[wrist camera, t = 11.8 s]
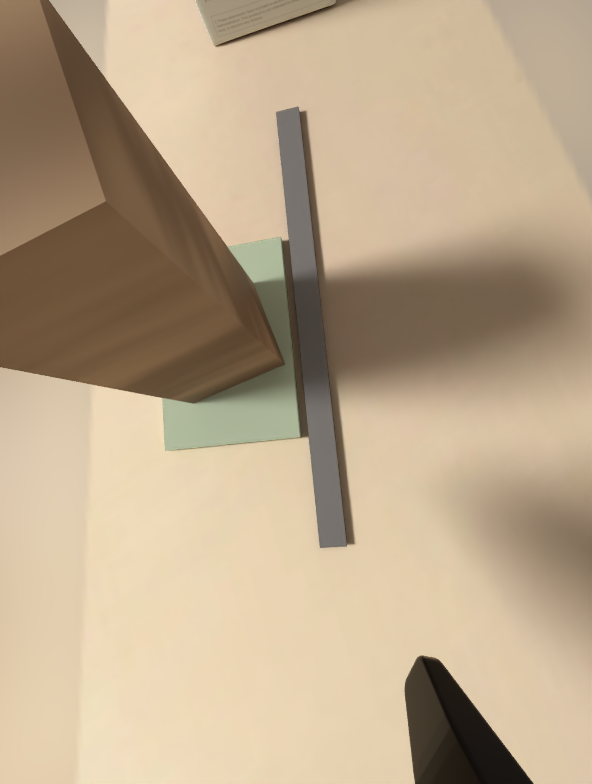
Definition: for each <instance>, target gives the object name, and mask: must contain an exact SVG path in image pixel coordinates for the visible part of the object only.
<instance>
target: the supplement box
mask: <svg viewBox="0 0 592 784" xmlns="http://www.w3.org/2000/svg"><path fill="white" fill-rule="evenodd" d="M195 3H196V5H197V8H198V10H199V12H200V15H201V17H202V20H203V22H204V25H205V27H206V30H207V32H208V34H209V36H210V39H211V41H212V43H213V45H218V44H221V43H224V42H226V41H229V40H232V39H235V38H237V37H240V36H243V35H246V34H249V33H252V32H255V31H258V30H261V29H263V28H266V27H269V26H272V25H275V24H278V23H281V22H284V21H287V20H290V19H292V18H295V17H298V16H301V15H304V14H307V13H310V12H313V11H316V10H319V9H322V8H324V7H328V6H330V5H333V4H335V3H336V0H195Z"/></svg>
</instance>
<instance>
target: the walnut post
mask: <svg viewBox="0 0 592 784" xmlns="http://www.w3.org/2000/svg"><path fill="white" fill-rule="evenodd" d="M283 365H285V362H284V360H283V357H282V354H281V352H280V349H279V347H278V344H277V342H276V339H275V337H274V334H273V332H272V329H271V326H270V324H269V321H268V319H267V316H266V314H265V311H264V309H263V306H262V303H261V301H260V298H259V296H258V293H257V291H256V288H255V286H254V283H253V282H252V280H251V279H250V277H249V276H248V275H247V273H246V272H245V271H244V269H243V268H242V266H241V265H240V264H239V262H238V261H237V259H236V258H235V257H234V255H233V254H232V253H231V251H230V250H229V248H228V247H227V246H226V244H225V243H224V242H223V240H222V239H221V237H220V236H219V235H218V233H217V232H216V230H215V229H214V228H213V226H212V225H211V224H210V222H209V221H208V219H207V218H206V217H205V215H204V214H203V213H202V211H201V210H200V208H199V207H198V206H197V204H196V203H195V201H194V200H193V199H192V197H191V196H190V195H189V193H188V192H187V190H186V189H185V188H184V186H183V185H182V184H181V182H180V181H179V179H178V178H177V177H176V175H175V174H174V173H173V171H172V170H171V168H170V167H169V166H168V164H167V163H166V161H165V160H164V159H163V157H162V156H161V155H160V153H159V152H158V150H157V149H156V148H155V146H154V145H153V144H152V142H151V141H150V139H149V138H148V137H147V135H146V134H145V132H144V131H143V130H142V128H141V127H140V126H139V124H138V123H137V121H136V120H135V119H134V117H133V116H132V115H131V113H130V112H129V110H128V109H127V108H126V106H125V105H124V103H123V102H122V101H121V99H120V98H119V97H118V95H117V94H116V92H115V91H114V90H113V88H112V87H111V86H110V84H109V83H108V81H107V80H106V79H105V77H104V76H103V74H102V73H101V72H100V70H99V69H98V68H97V66H96V65H95V63H94V62H93V61H92V59H91V58H90V57H89V55H88V54H87V53H86V51H85V50H84V48H83V47H82V45H81V44H80V43H79V41H78V40H77V39H76V37H75V36H74V34H73V33H72V32H71V30H70V29H69V28H68V26H67V25H66V24H65V22H64V21H63V19H62V18H61V17H60V15H59V14H58V12H57V11H56V10H55V8H54V7H53V6H52V4H51V3H50V1H49V0H0V367H3V368H8V369H13V370H19V371H24V372H29V373H34V374H40V375H45V376H50V377H55V378H61V379H66V380H71V381H76V382H82V383H87V384H92V385H97V386H103V387H108V388H113V389H118V390H124V391H129V392H134V393H139V394H145V395H150V396H155V397H160V398H166V399H171V400H176V401H182V402H187V403H192V404H194V403H196V402H198V401H201V400H203V399H205V398H208V397H210V396H212V395H215V394H217V393H219V392H222V391H224V390H226V389H229V388H231V387H233V386H236V385H238V384H240V383H243V382H245V381H247V380H250V379H252V378H254V377H257V376H259V375H261V374H264V373H266V372H268V371H271V370H273V369H276V368H278V367H280V366H283Z"/></svg>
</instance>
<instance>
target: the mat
mask: <svg viewBox="0 0 592 784" xmlns="http://www.w3.org/2000/svg"><path fill="white" fill-rule="evenodd" d="M228 248H229V250H230V251H231V253H232V254H233V255H234V257H235V258H236V259H237V261H238V262H239V264H240V265H241V266H242V268H243V269H244V271H245V272H246V273H247V275H248V276H249V277H250V279H251V280H252V282H253V283H254V286H255V288H256V291H257V293H258V296H259V298H260V301H261V303H262V306H263V309H264V311H265V314H266V316H267V319H268V321H269V324H270V326H271V329H272V332H273V334H274V337H275V339H276V342H277V344H278V347H279V349H280V352H281V354H282V357H283V360H284V362H285V365H283V366H280V367H278V368H276V369H273V370H271V371H268V372H266V373H264V374H261V375H259V376H257V377H254V378H252V379H250V380H247V381H245V382H243V383H240V384H238V385H236V386H233V387H231V388H229V389H226V390H224V391H222V392H219V393H217V394H215V395H212V396H210V397H208V398H205V399H203V400H201V401H198V402H196V403H194V404H192V403H187V402H182V401H176V400H171V399H166V398H162V401H163V420H164V440H165V451H167V450H178V449H188V448H198V447H208V446H218V445H228V444H238V443H248V442H258V441H268V440H278V439H288V438H298V437H301V428H300V418H299V408H298V398H297V388H296V377H295V367H294V357H293V347H292V337H291V326H290V316H289V306H288V296H287V286H286V276H285V265H284V255H283V245H282V239H281V237H277V238H272V239H266V240H261V241H256V242H250V243H245V244H240V245H234V246H229V247H228Z"/></svg>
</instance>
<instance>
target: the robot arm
mask: <svg viewBox="0 0 592 784" xmlns="http://www.w3.org/2000/svg"><path fill="white" fill-rule="evenodd" d="M405 700H406V709H407V718H408V727H409V736H410V745H411V754H412V763H413V772H414V779H415V784H533V782H532V781H531V780H530V778H529V777H528V776H527V774H526V773H525V772H524V770H523V769H522V768H521V766H520V765H519V764H518V763H517V761H516V760H515V759H514V757H513V756H512V755H511V753H510V752H509V751H508V749H507V748H506V747H505V745H504V744H503V743H502V741H501V740H500V739H499V737H498V736H497V735H496V734H495V732H494V731H493V730H492V728H491V727H490V726H489V724H488V723H487V722H486V720H485V719H484V718H483V716H482V715H481V714H480V712H479V711H478V710H477V708H476V707H475V706H474V705H473V703H472V702H471V701H470V699H469V698H468V697H467V695H466V694H465V693H464V691H463V690H462V689H461V687H460V686H459V685H458V683H457V682H456V681H455V680H454V678H453V677H452V676H451V674H450V673H449V672H448V670H447V669H446V668H445V666H444V665H443V664H442V663H441V662H440V661H439V660H438V659H436V658H433V657H428V656H419V657H418V658H417V659H416V661H415V663H414V665H413V667H412V669H411V671H410V673H409V675H408V677H407V679H406V682H405Z"/></svg>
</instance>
